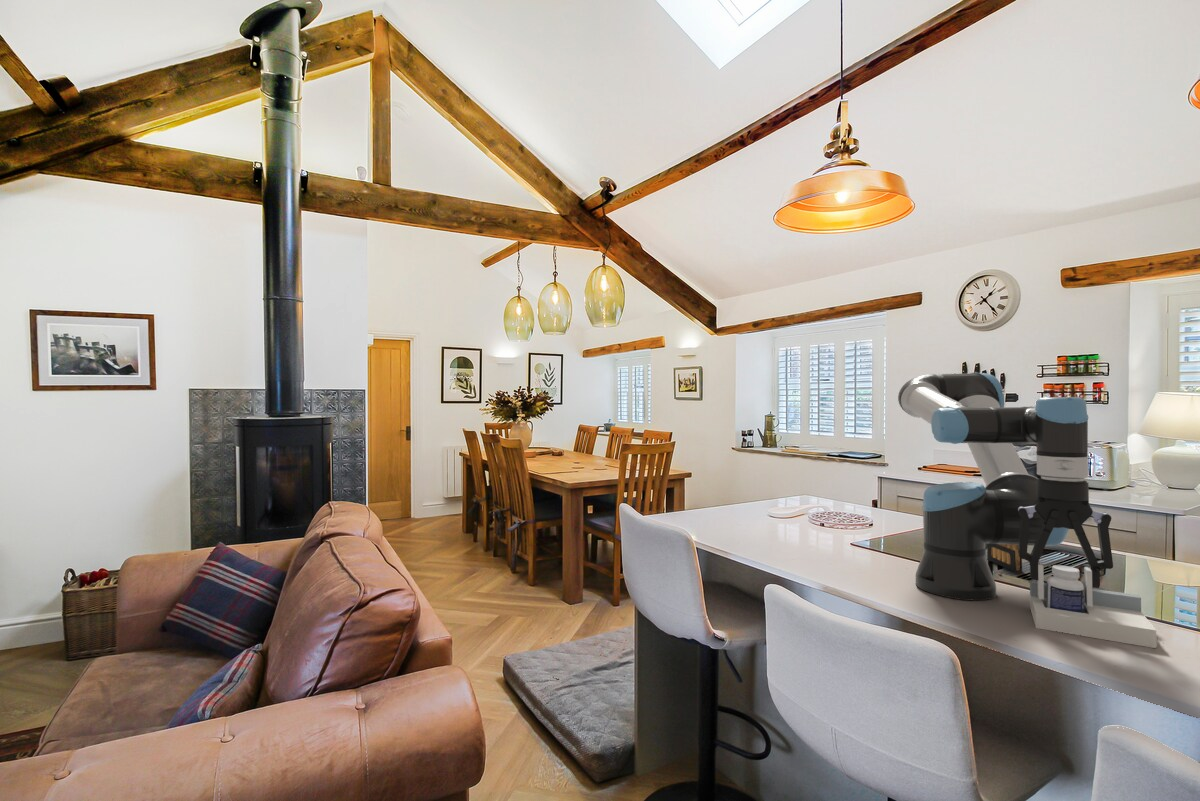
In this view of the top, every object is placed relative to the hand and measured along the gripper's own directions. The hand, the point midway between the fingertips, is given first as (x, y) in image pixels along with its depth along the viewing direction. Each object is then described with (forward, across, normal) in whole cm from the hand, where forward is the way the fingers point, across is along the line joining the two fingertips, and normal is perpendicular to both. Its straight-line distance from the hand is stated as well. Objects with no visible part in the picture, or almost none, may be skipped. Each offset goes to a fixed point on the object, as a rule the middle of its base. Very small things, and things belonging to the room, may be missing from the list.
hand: (1064, 600), depth 106 cm
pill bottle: (+4, 0, 0) cm, 4 cm away
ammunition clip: (+4, -8, +39) cm, 40 cm away
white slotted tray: (+4, +3, -1) cm, 5 cm away
